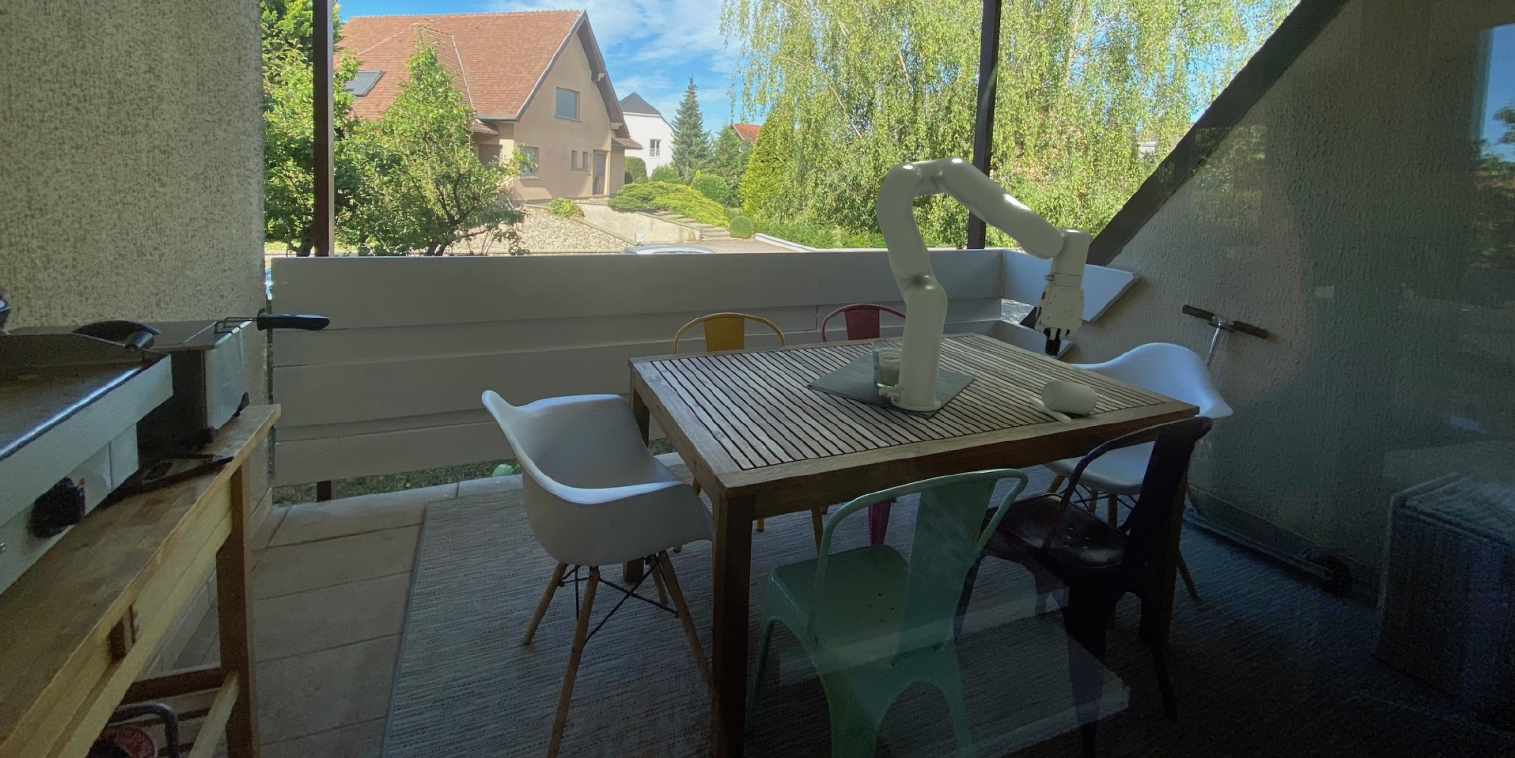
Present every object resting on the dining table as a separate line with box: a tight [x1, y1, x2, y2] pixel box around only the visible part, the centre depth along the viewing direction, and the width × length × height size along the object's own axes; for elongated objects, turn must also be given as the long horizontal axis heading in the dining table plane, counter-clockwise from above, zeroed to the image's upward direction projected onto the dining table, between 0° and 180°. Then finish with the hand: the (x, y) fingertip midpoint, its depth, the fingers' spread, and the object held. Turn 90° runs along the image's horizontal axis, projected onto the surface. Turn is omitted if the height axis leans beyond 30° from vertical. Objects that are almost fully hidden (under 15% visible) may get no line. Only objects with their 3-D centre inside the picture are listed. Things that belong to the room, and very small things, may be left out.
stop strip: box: [1029, 397, 1072, 425], centre depth 195 cm, size 2×18×1 cm, turn 8°
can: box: [1041, 379, 1098, 416], centre depth 193 cm, size 8×8×12 cm
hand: (1051, 354), depth 190 cm, fingers closed
